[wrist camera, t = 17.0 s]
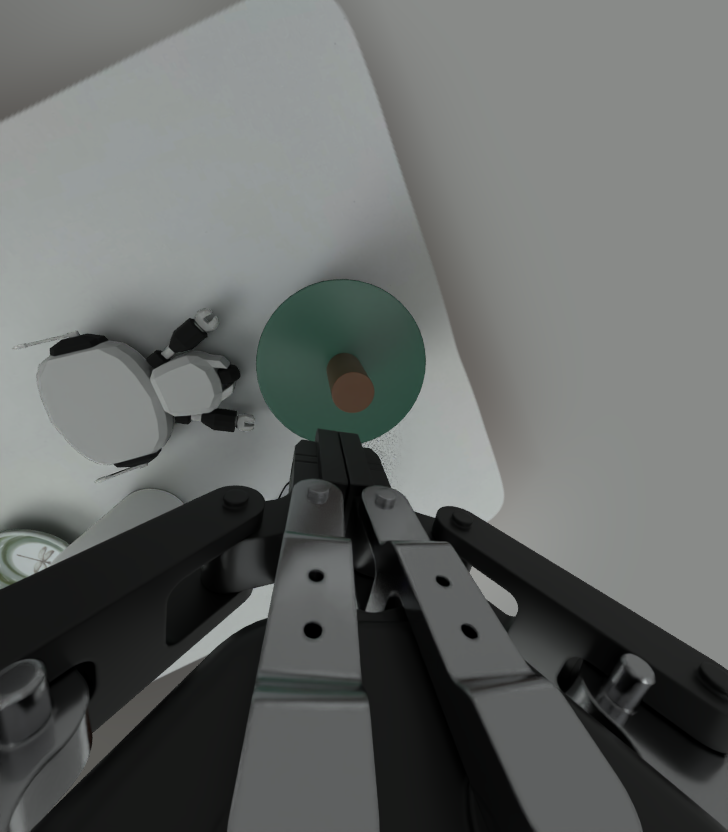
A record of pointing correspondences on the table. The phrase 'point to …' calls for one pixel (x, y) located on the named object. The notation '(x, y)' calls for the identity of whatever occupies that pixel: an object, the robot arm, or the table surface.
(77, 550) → the cup
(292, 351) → the lid
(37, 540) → the saucer
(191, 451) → the table surface
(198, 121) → the table surface
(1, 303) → the table surface
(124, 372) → the robot toy
